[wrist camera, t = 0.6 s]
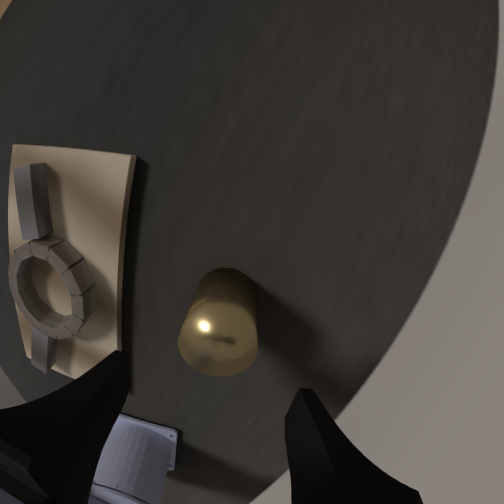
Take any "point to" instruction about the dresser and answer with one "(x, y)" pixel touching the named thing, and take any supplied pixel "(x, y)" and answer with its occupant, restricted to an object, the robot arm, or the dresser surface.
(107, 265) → the coupling plate
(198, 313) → the cylinder
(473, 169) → the dresser surface
